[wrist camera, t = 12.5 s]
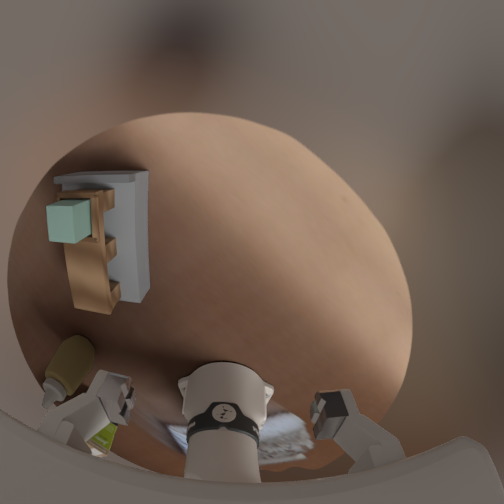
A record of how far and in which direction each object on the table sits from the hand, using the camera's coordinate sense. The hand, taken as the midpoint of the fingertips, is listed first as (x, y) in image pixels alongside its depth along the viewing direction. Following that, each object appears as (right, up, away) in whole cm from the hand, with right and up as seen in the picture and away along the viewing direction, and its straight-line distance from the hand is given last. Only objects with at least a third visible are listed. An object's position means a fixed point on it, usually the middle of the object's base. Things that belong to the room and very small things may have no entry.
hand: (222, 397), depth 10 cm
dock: (-20, +10, +27) cm, 35 cm away
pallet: (-20, +7, +22) cm, 31 cm away
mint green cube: (-19, +10, +17) cm, 27 cm away
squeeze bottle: (-33, -13, +35) cm, 50 cm away
